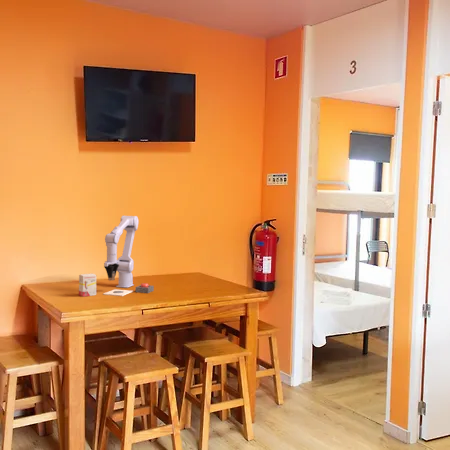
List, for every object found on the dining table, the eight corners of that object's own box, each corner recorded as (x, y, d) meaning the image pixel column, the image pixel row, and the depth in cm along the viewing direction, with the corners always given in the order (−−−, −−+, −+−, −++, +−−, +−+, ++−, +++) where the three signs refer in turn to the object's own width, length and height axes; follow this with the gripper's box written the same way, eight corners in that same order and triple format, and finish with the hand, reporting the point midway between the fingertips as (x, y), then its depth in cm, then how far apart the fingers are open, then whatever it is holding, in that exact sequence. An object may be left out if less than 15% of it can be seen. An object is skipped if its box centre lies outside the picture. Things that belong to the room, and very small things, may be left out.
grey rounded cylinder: (110, 279, 320) (110, 270, 320) (115, 279, 319) (115, 271, 319) (107, 280, 317) (107, 271, 316) (112, 280, 316) (112, 272, 315)
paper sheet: (114, 290, 322) (114, 289, 322) (133, 291, 319) (133, 290, 319) (103, 294, 309) (103, 293, 309) (122, 296, 306) (122, 295, 306)
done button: (142, 287, 323) (142, 283, 323) (149, 287, 322) (149, 283, 322) (139, 288, 319) (139, 284, 318) (146, 289, 317) (146, 284, 317)
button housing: (141, 289, 325) (141, 284, 325) (153, 290, 323) (153, 285, 323) (135, 292, 318) (135, 287, 317) (148, 293, 315) (148, 288, 315)
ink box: (82, 296, 301) (82, 275, 300) (78, 295, 305) (78, 274, 304) (96, 295, 307) (96, 274, 306) (92, 293, 311) (92, 273, 310)
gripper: (111, 252, 325) (111, 274, 326) (99, 255, 311) (99, 278, 312) (122, 253, 323) (122, 275, 324) (110, 255, 309) (110, 279, 310)
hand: (111, 277), depth 318 cm, fingers closed on grey rounded cylinder, 4 cm apart
